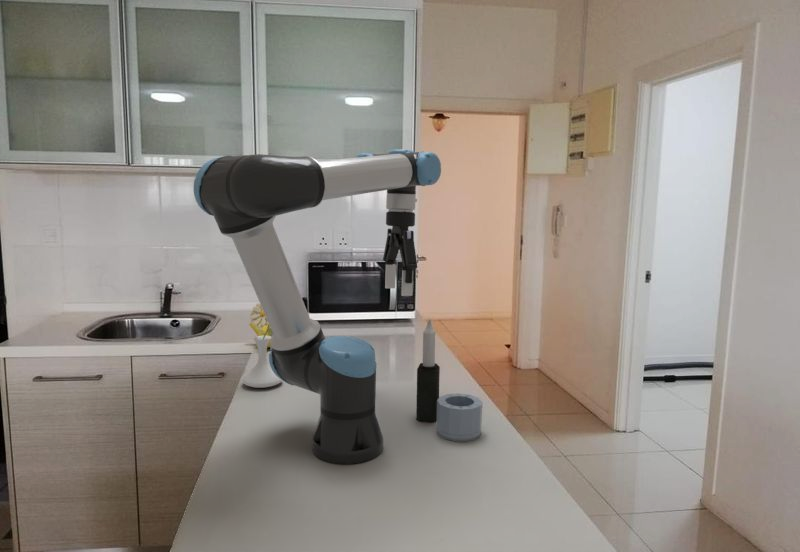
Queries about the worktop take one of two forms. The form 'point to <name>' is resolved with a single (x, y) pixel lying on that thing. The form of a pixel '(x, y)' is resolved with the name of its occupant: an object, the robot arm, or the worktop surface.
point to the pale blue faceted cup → (459, 417)
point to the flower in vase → (261, 354)
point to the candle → (428, 379)
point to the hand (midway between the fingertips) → (398, 292)
